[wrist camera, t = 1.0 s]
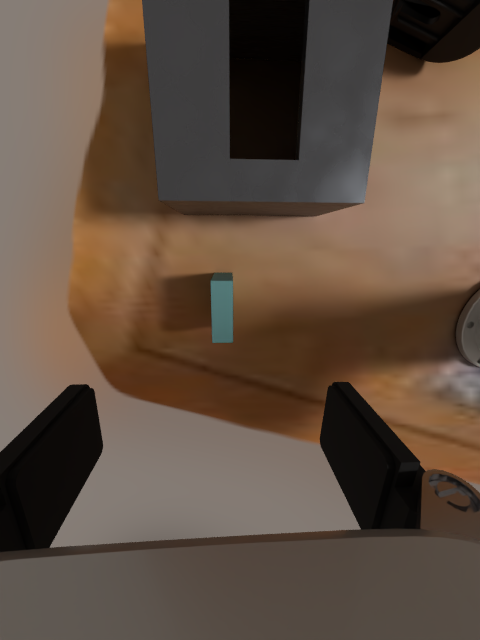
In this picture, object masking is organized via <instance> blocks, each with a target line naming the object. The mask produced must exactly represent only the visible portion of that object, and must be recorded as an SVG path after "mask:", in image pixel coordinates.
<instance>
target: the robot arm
mask: <svg viewBox="0 0 480 640" xmlns="http://www.w3.org/2000/svg"><path fill="white" fill-rule="evenodd" d="M456 343H457V346H458V349H459V351H460V353H461V354H462V356H463V357H464V358H465V359H466V360H467V361H469V362H470V363H472V364H474V365H476V366H478V367H480V289H479V290H478V291H477V292H476V293H475V294H474V295H473V296H472V298H471V299H470V300H469V302H468V303H467V304H466V306H465V307H464V309H463V311H462V313H461V315H460V317H459V320H458V323H457V329H456ZM320 444H321V448H322V450H323V452H324V454H325V456H326V458H327V460H328V462H329V464H330V466H331V468H332V470H333V472H334V475H335V476H336V479H337V481H338V483H339V485H340V487H341V489H342V491H343V493H344V495H345V497H346V499H347V501H348V503H349V505H350V507H351V510H352V512H353V514H354V516H355V518H356V520H357V522H358V524H359V526H360V528H361V530H339V531H319V532H301V533H281V534H262V535H245V536H229V537H228V536H227V537H211V538H195V539H178V540H160V541H146V542H129V543H114V544H100V545H84V546H69V547H56V548H49V547H50V545H51V544H52V542H53V540H54V538H55V536H56V535H57V533H58V530H59V529H60V527H61V525H62V524H63V522H64V520H65V518H66V516H67V515H68V513H69V511H70V509H71V507H72V506H73V504H74V502H75V500H76V498H77V497H78V495H79V493H80V491H81V489H82V488H83V486H84V484H85V482H86V480H87V479H88V477H89V475H90V473H91V471H92V470H93V468H94V466H95V464H96V462H97V461H98V459H99V457H100V455H101V453H102V449H103V441H102V436H101V429H100V423H99V417H98V410H97V404H96V399H95V392H94V389H92V388H90V387H89V386H88V385H87V384H84V385H70V386H68V387H67V388H66V389H65V390H64V391H63V392H62V393H61V394H60V395H59V396H58V397H57V398H56V399H55V400H54V401H53V402H52V403H51V404H50V405H49V406H48V407H47V408H46V409H45V410H43V411H42V412H41V413H40V414H39V415H38V416H37V417H36V418H35V419H34V420H33V421H32V422H31V423H30V424H29V425H28V426H27V427H26V428H25V429H24V430H23V431H22V432H21V433H20V434H19V435H18V436H17V437H16V438H14V439H13V440H12V442H10V443H9V444H8V445H7V446H6V447H5V448H4V449H3V450H2V451H1V452H0V640H480V493H479V492H478V491H477V490H476V489H475V488H474V487H473V486H472V485H470V484H469V483H467V482H466V481H465V480H463V479H462V478H460V477H458V476H456V475H454V474H452V473H449V472H446V471H443V470H436V469H432V470H427V471H425V470H424V469H423V468H422V467H421V465H420V461H419V460H418V459H417V458H416V457H415V455H414V454H413V453H412V452H411V451H410V450H409V449H408V448H407V447H406V445H405V444H404V443H403V442H402V441H401V440H400V439H399V438H398V437H397V435H396V434H395V433H394V432H393V431H392V430H391V429H390V428H389V427H388V425H387V424H386V423H385V422H384V421H383V420H382V419H381V418H380V416H379V415H378V414H377V413H376V412H375V411H374V410H373V409H372V408H371V406H370V405H369V404H368V403H367V402H366V401H365V400H364V399H363V398H362V396H361V395H360V394H359V393H358V392H357V391H356V390H355V389H354V388H353V386H352V385H351V384H350V383H349V382H333V384H332V386H329V387H328V391H327V397H326V403H325V409H324V416H323V422H322V428H321V434H320Z"/></svg>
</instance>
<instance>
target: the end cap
mask: <svg viewBox="0 0 480 640" xmlns="http://www.w3.org/2000/svg"><path fill="white" fill-rule="evenodd" d="M387 44H389V45H391V46H394V47H396V48H398V49H400V50H402V51H404V52H406V53H408V54H410V55H412V56H414V57H416V58H419V59H422V60H425V61H428V62H435V63H443V62H450V61H455V60H458V59H461V58H464V57H466V56H468V55H470V54H472V53H473V52H475V51H476V50H478V49H479V48H480V0H394V1H393V4H392V11H391V18H390V25H389V32H388V39H387Z"/></svg>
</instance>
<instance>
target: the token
mask: <svg viewBox="0 0 480 640" xmlns="http://www.w3.org/2000/svg"><path fill="white" fill-rule="evenodd" d="M211 312H212V343H233V276H232V273H214V275H213V277H212V279H211Z"/></svg>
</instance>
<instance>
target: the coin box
mask: <svg viewBox="0 0 480 640" xmlns="http://www.w3.org/2000/svg"><path fill="white" fill-rule="evenodd" d="M392 4H393V0H142V5H143V17H144V29H145V41H146V53H147V65H148V77H149V89H150V101H151V113H152V125H153V137H154V149H155V161H156V174H157V186H158V198H159V201H161V202H163V203H164V204H166V205H168V206H170V207H171V208H173V209H175V210H177V211H179V212H180V213H182V214H184V215H257V216H319V215H322V214H326V213H330V212H333V211H337V210H341V209H344V208H348V207H352V206H355V205H359V204H363V203H364V201H365V194H366V187H367V180H368V173H369V166H370V159H371V152H372V145H373V138H374V131H375V124H376V117H377V110H378V103H379V96H380V89H381V82H382V74H383V67H384V60H385V53H386V46H387V39H388V32H389V25H390V18H391V11H392ZM229 59H248V60H276V61H302V63H301V79H300V94H299V110H298V126H297V142H296V157H295V160H265V159H230V105H229Z"/></svg>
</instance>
